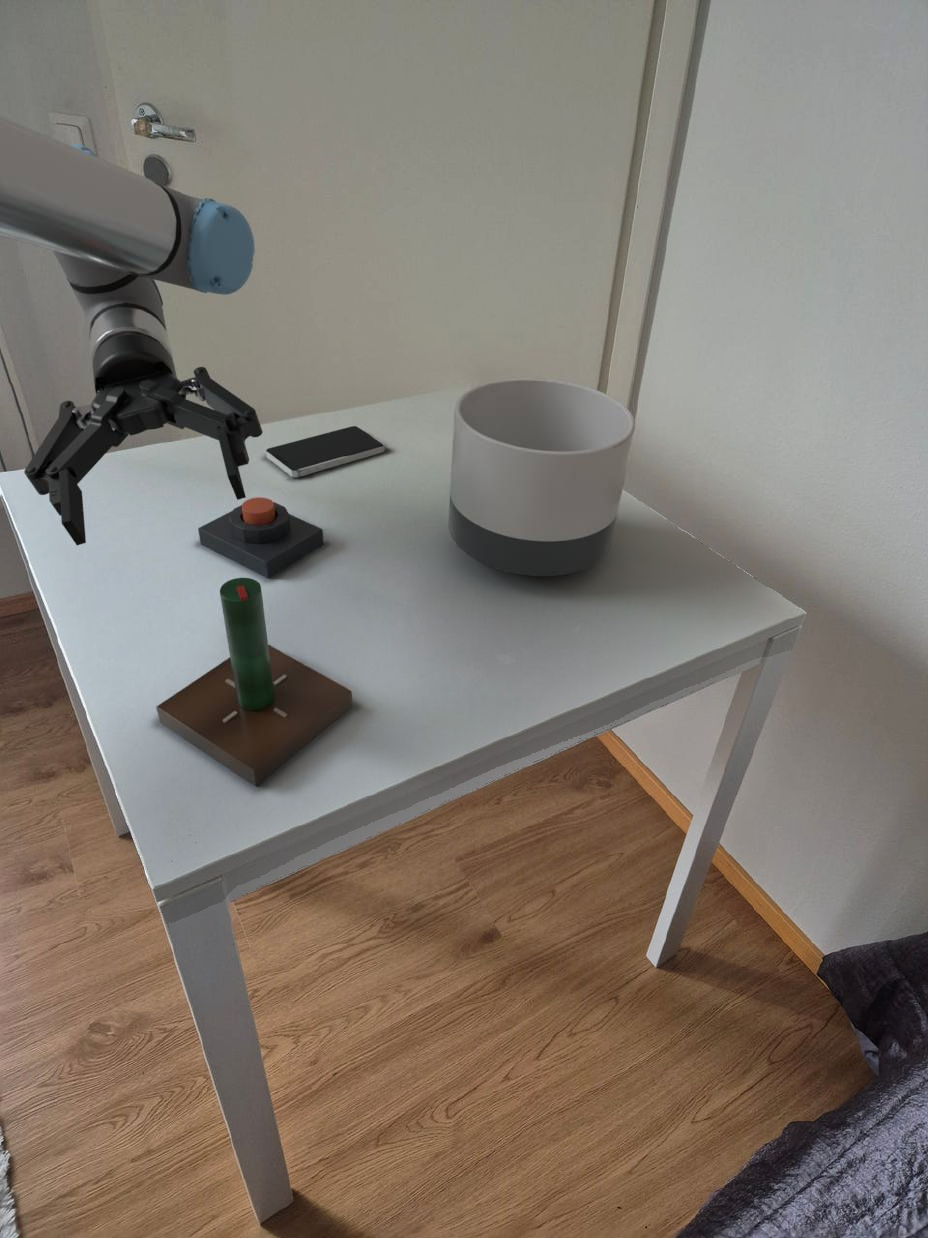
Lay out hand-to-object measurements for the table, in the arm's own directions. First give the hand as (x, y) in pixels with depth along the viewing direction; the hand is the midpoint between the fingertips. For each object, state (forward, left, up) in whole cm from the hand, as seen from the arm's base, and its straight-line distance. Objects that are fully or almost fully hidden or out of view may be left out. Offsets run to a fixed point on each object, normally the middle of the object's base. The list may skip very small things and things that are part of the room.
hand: (156, 510), depth 66 cm
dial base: (+10, -1, -17) cm, 20 cm away
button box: (-10, +19, -17) cm, 28 cm away
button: (-10, +19, -13) cm, 25 cm away
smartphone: (-20, +41, -17) cm, 49 cm away
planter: (+15, +38, -17) cm, 45 cm away
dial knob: (+10, -1, -15) cm, 18 cm away
